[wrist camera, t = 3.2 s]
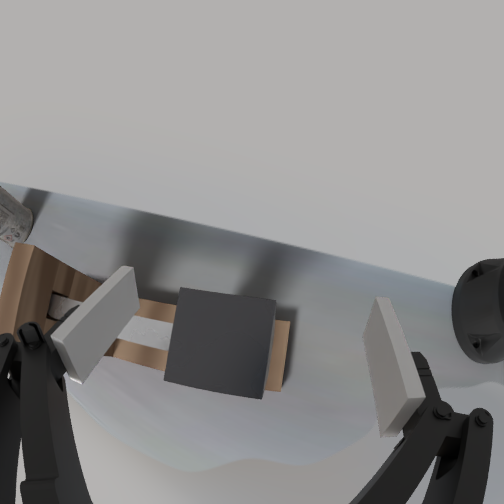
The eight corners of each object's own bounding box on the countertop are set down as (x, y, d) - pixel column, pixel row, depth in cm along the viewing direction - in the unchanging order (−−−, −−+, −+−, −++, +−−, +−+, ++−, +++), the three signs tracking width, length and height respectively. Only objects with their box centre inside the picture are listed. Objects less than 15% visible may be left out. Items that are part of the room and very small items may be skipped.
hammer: (274, 334, 21) (275, 300, 9) (268, 374, 20) (261, 399, 8) (18, 279, 24) (-69, 232, 12) (12, 305, 23) (-78, 266, 11)
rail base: (289, 323, 34) (307, 283, 16) (280, 389, 31) (288, 427, 13) (79, 287, 37) (-16, 236, 19) (68, 339, 34) (-35, 312, 17)
